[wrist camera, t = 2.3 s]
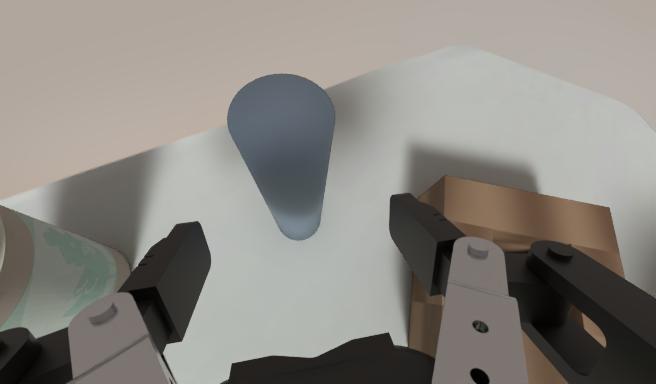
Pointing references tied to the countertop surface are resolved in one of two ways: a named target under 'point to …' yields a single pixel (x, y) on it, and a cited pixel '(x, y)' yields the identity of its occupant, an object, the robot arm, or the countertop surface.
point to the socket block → (514, 249)
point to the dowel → (286, 146)
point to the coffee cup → (51, 273)
